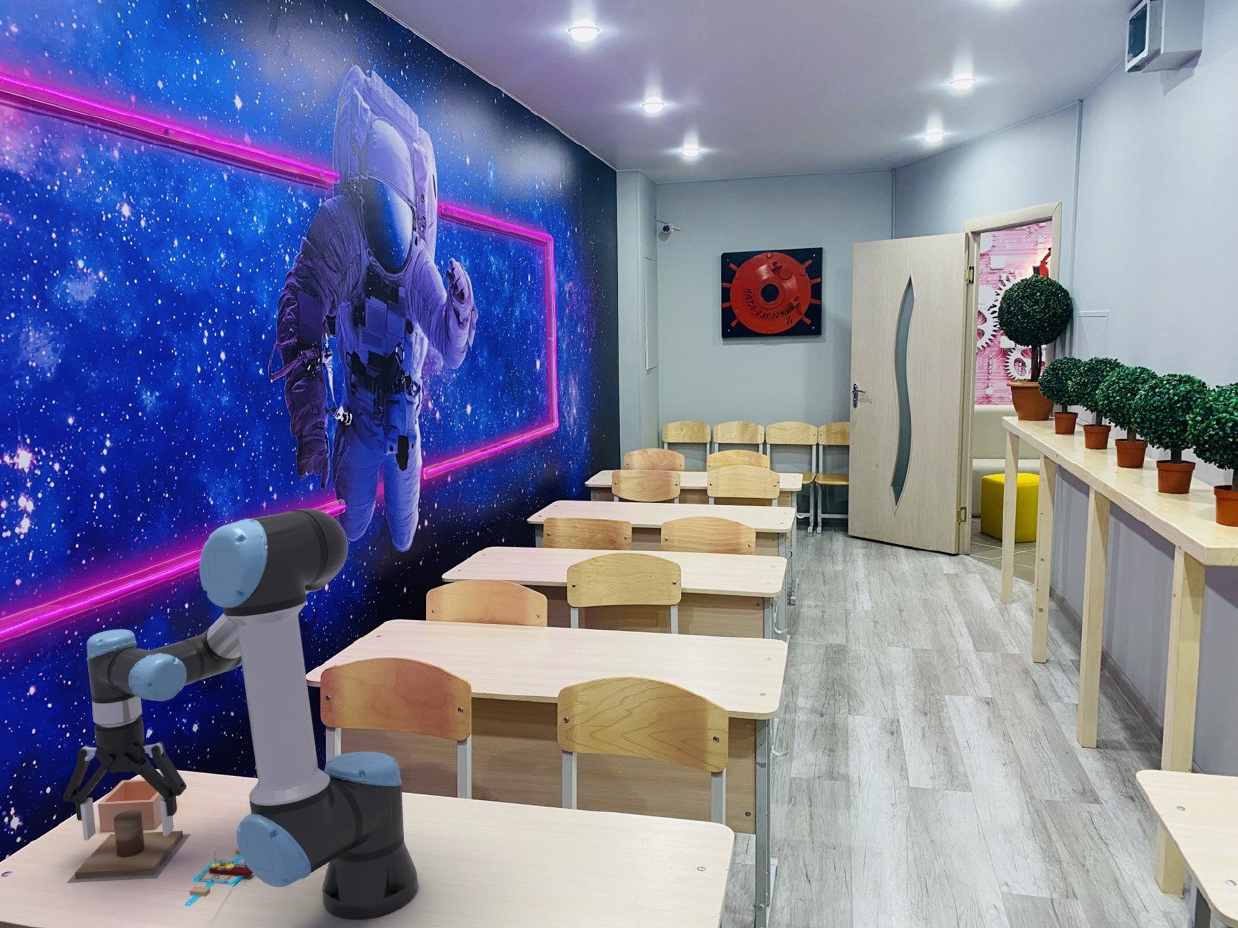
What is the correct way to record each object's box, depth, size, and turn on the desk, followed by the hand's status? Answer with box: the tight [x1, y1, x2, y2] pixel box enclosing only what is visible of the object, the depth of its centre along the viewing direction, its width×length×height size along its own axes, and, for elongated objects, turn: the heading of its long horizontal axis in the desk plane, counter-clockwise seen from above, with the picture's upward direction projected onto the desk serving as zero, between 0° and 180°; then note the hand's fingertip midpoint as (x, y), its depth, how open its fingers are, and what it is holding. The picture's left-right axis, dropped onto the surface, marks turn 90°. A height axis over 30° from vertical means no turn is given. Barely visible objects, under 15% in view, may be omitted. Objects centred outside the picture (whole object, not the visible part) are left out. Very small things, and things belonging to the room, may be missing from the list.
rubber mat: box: [66, 833, 191, 884], centre depth 172 cm, size 15×15×1 cm
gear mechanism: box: [183, 847, 254, 907], centre depth 166 cm, size 20×5×9 cm
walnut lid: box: [74, 810, 184, 879], centre depth 172 cm, size 13×13×8 cm
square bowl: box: [97, 778, 163, 833], centre depth 186 cm, size 10×10×6 cm
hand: (129, 834), depth 172 cm, fingers open, 13 cm apart
